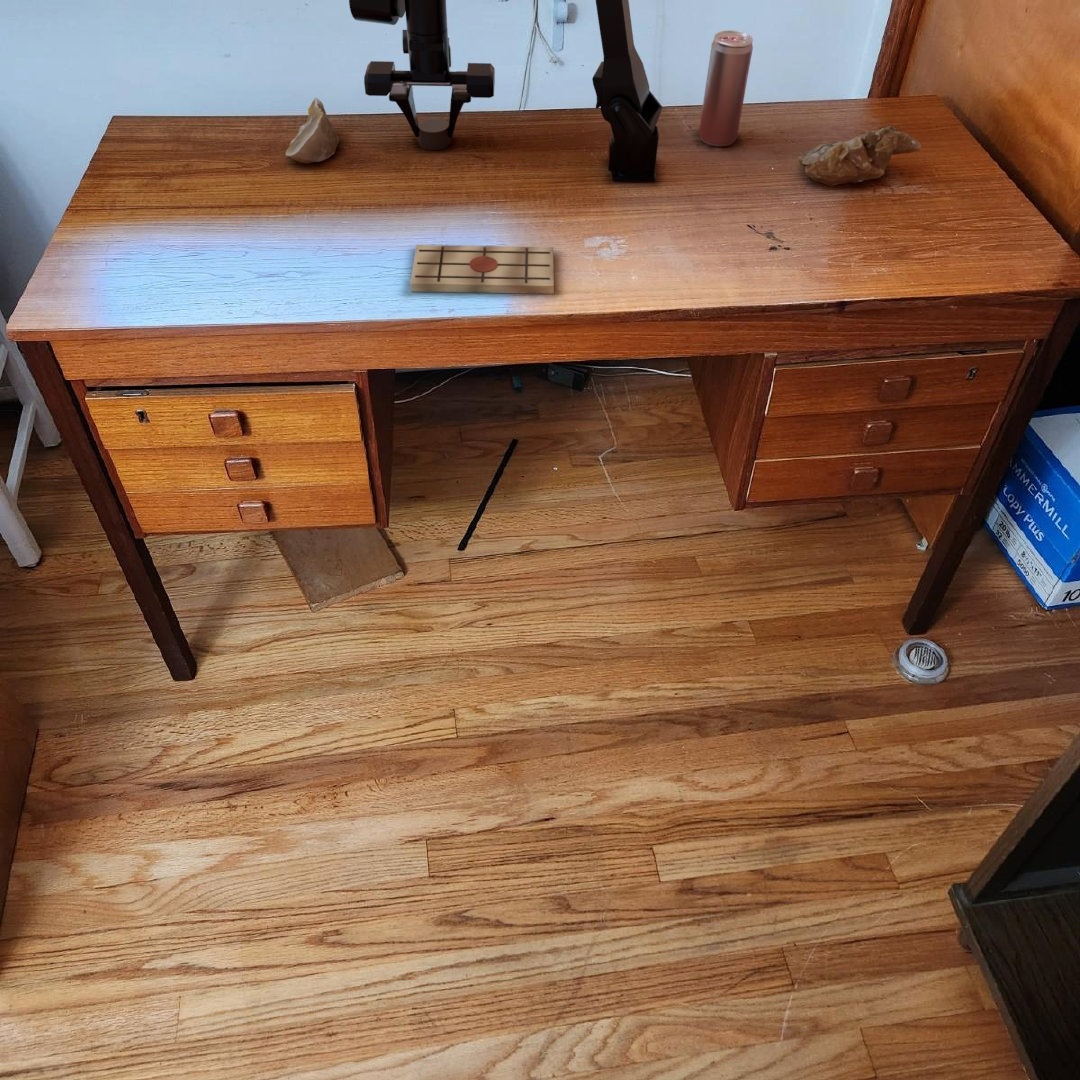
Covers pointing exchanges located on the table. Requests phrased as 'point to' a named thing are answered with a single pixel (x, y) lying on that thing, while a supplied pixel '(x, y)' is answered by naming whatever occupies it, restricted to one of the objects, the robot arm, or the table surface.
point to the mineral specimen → (856, 156)
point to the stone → (314, 137)
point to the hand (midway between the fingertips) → (434, 136)
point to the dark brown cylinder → (433, 134)
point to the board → (483, 269)
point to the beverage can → (725, 87)
